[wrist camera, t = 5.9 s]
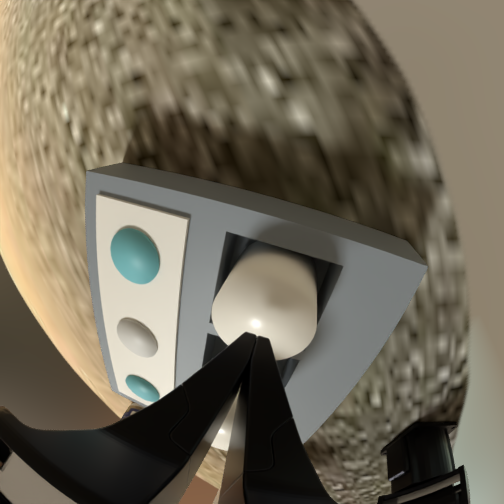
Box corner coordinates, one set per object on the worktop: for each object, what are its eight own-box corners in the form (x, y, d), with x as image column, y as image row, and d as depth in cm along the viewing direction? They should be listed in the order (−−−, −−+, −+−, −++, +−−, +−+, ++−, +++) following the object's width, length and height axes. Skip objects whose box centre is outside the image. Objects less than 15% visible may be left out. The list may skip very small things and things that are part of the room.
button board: (407, 240, 12) (431, 270, 9) (296, 426, 20) (292, 457, 17) (121, 162, 14) (81, 172, 11) (128, 368, 21) (110, 393, 18)
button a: (328, 251, 12) (333, 295, 9) (301, 318, 14) (296, 370, 11) (245, 227, 13) (220, 261, 9) (229, 296, 14) (205, 343, 11)
